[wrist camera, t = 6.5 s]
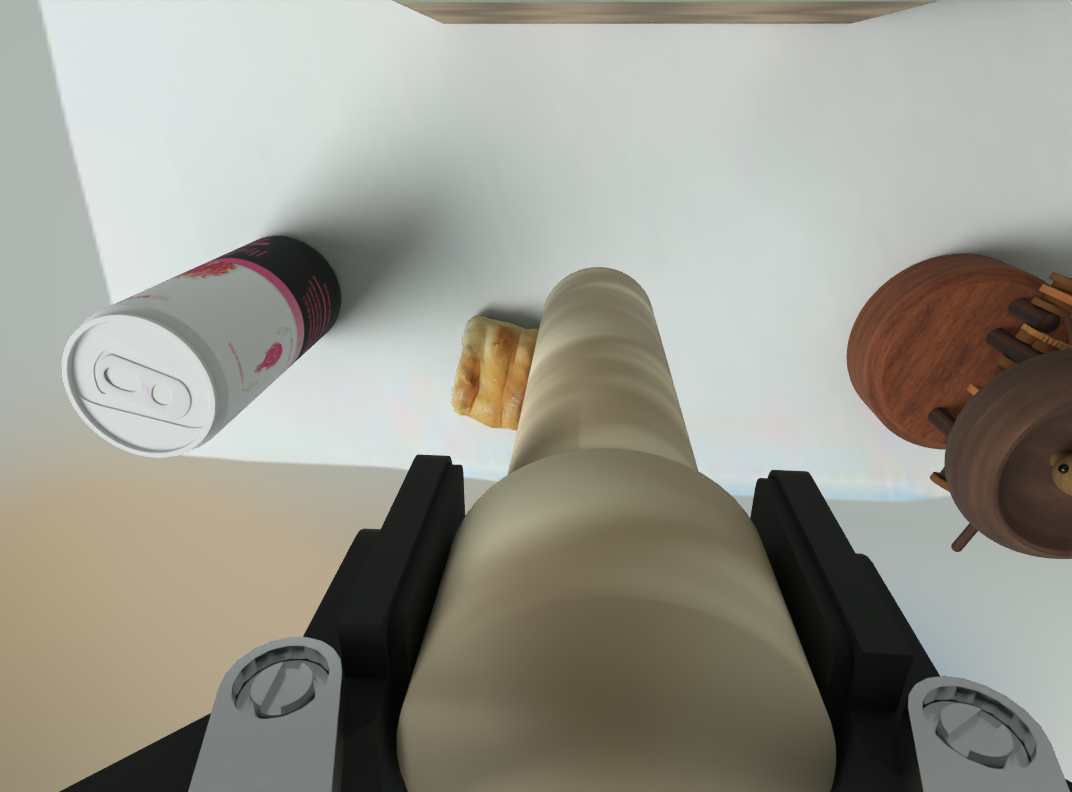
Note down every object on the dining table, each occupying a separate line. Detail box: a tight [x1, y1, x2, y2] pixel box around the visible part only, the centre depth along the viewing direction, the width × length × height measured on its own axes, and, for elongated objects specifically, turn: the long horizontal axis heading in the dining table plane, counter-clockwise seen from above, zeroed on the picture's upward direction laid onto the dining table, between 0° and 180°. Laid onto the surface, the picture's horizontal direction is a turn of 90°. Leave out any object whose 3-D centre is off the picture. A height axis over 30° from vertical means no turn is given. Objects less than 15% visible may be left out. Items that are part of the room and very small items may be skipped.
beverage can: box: [62, 236, 341, 458], centre depth 34 cm, size 6×6×15 cm
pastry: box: [452, 315, 539, 431], centre depth 40 cm, size 9×7×4 cm
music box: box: [847, 254, 1072, 559], centre depth 31 cm, size 15×11×20 cm
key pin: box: [397, 267, 836, 792], centre depth 15 cm, size 5×5×16 cm
